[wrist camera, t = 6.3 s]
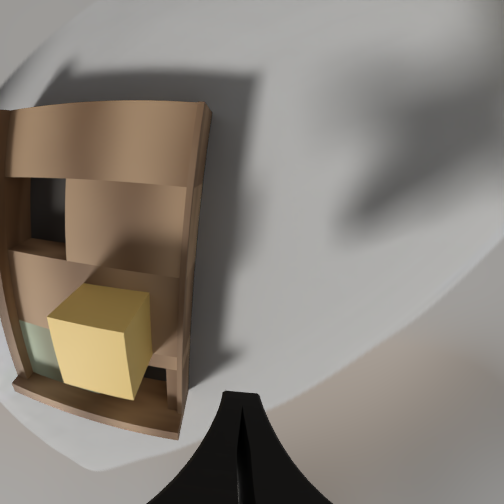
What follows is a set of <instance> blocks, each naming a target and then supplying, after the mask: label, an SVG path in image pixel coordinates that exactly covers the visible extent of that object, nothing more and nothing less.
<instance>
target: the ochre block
mask: <svg viewBox="0 0 504 504" xmlns="http://www.w3.org/2000/svg"><path fill="white" fill-rule="evenodd" d="M47 320H48V325H49V329H50V334H51V338H52V342H53V346H54V350H55V353H56V357H57V361H58V364H59V368H60V371H61V374H62V378H63V381H64V383H66V384H70V385H73V386H76V387H80V388H84V389H87V390H91V391H95V392H99V393H103V394H107V395H111V396H115V397H120V398H124V399H129V400H134V399H135V396H136V394H137V391H138V389H139V386H140V384H141V381H142V379H143V376H144V374H145V371H146V369H147V366H148V364H149V362H150V359H151V357H152V354H153V352H152V338H151V321H150V295H149V292H141V291H134V290H126V289H119V288H112V287H106V286H99V285H92V284H86V283H83V284H82V285H81V286H80V287H79V288H78V289H76V290H75V291H74V292H73V293H72V294H71V295H70V296H69V297H68V298H66V299H65V300H64V301H63V302H62V303H61V304H60V305H59V306H58V307H57V308H56V309H54V310H53V311H52V312H51V313H50V314H49V315H48V316H47Z"/></svg>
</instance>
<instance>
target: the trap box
mask: <svg viewBox="0 0 504 504" xmlns="http://www.w3.org/2000/svg"><path fill="white" fill-rule="evenodd" d="M211 117H212V112H211V110H210V109H209V108H208V106H207V105H206V103H205V102H198V103H197V102H181V101H153V100H120V101H93V102H77V103H65V104H55V105H46V106H38V107H31V108H24V109H17V110H11V111H9V110H0V318H1V322H2V326H3V330H4V333H5V337H6V340H7V344H8V347H9V350H10V353H11V357H12V360H13V363H14V366H15V368H16V371H17V374H18V376H17V378H16V379H15V380H14V381H13V382H12V385H13V387H14V390H15V391H16V392H18V393H21V394H23V395H25V396H27V397H30V398H32V399H34V400H37V401H39V402H42V403H44V404H47V405H49V406H52V407H54V408H57V409H60V410H63V411H65V412H68V413H71V414H74V415H77V416H80V417H83V418H86V419H89V420H93V421H96V422H99V423H103V424H106V425H110V426H114V427H118V428H121V429H125V430H129V431H134V432H138V433H143V434H147V435H152V436H157V437H162V438H168V439H173V440H178V439H179V434H180V429H181V424H182V419H183V414H184V409H185V404H186V400H187V395H188V385H189V353H190V331H191V312H192V296H193V282H194V268H195V256H196V244H197V234H198V223H199V213H200V204H201V195H202V186H203V177H204V169H205V161H206V153H207V146H208V138H209V131H210V124H211ZM83 283H86V284H92V285H99V286H106V287H112V288H119V289H126V290H134V291H141V292H149V295H150V321H151V338H152V352H153V354H152V357H151V359H150V362H149V364H148V366H147V369H146V371H145V374H144V376H143V379H142V381H141V384H140V386H139V389H138V391H137V394H136V396H135V399H134V400H129V399H124V398H120V397H115V396H111V395H107V394H103V393H99V392H95V391H91V390H87V389H84V388H80V387H76V386H73V385H70V384H66V383H64V381H63V378H62V374H61V371H60V368H59V364H58V361H57V357H56V353H55V350H54V346H53V342H52V338H51V334H50V329H49V325H48V320H47V316H48V315H49V314H50V313H51V312H52V311H53V310H54V309H56V308H57V307H58V306H59V305H60V304H61V303H62V302H63V301H64V300H65V299H66V298H68V297H69V296H70V295H71V294H72V293H73V292H74V291H75V290H76V289H78V288H79V287H80V286H81V285H82V284H83Z"/></svg>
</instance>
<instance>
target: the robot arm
mask: <svg viewBox="0 0 504 504" xmlns="http://www.w3.org/2000/svg"><path fill="white" fill-rule="evenodd" d="M237 481H238V484H237ZM238 497H239V502H238ZM147 504H333V503H331V502H330V501H329V500H328V499H327V498H325V497H324V496H323V495H322V494H321V493H320V492H319V491H318V490H317V489H316V488H315V487H314V486H313V485H312V484H311V483H310V482H309V481H308V480H307V478H306V477H305V476H304V475H303V474H302V473H301V472H300V470H299V469H298V468H297V466H296V465H295V464H294V463H293V461H292V460H291V458H290V457H289V455H288V454H287V452H286V451H285V449H284V448H283V446H282V444H281V443H280V441H279V439H278V438H277V436H276V434H275V432H274V430H273V428H272V426H271V424H270V422H269V420H268V417H267V415H266V413H265V410H264V408H263V405H262V402H261V399H260V396H259V395H258V394H257V393H245V392H234V391H224V392H223V394H222V399H221V403H220V406H219V409H218V411H217V414H216V416H215V418H214V420H213V422H212V424H211V427H210V429H209V430H208V432H207V434H206V436H205V437H204V439H203V441H202V442H201V444H200V446H199V447H198V449H197V450H196V452H195V453H194V454H193V456H192V457H191V459H190V460H189V461H188V462H187V464H186V465H185V466H184V467H183V469H182V470H181V471H180V472H179V474H178V475H177V476H176V477H175V478H174V479H173V480H172V481H171V482H170V483H169V484H168V485H167V486H166V487H165V488H164V489H163V490H162V491H161V492H160V493H159V494H157V495H156V496H155V497H154V498H153V499H152V500H151V501H149V502H148V503H147Z"/></svg>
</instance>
